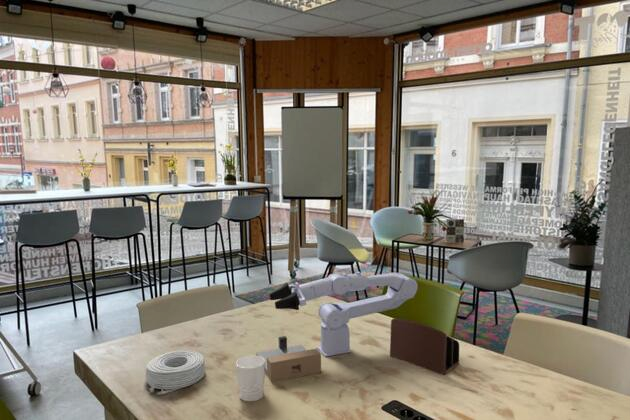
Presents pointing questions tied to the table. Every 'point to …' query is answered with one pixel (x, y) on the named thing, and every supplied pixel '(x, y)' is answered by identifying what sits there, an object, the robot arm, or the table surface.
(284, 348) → the bolt
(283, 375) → the door and jamb
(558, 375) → the table surface
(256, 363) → the white cup
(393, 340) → the letter holder
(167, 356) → the cable
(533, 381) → the table surface
